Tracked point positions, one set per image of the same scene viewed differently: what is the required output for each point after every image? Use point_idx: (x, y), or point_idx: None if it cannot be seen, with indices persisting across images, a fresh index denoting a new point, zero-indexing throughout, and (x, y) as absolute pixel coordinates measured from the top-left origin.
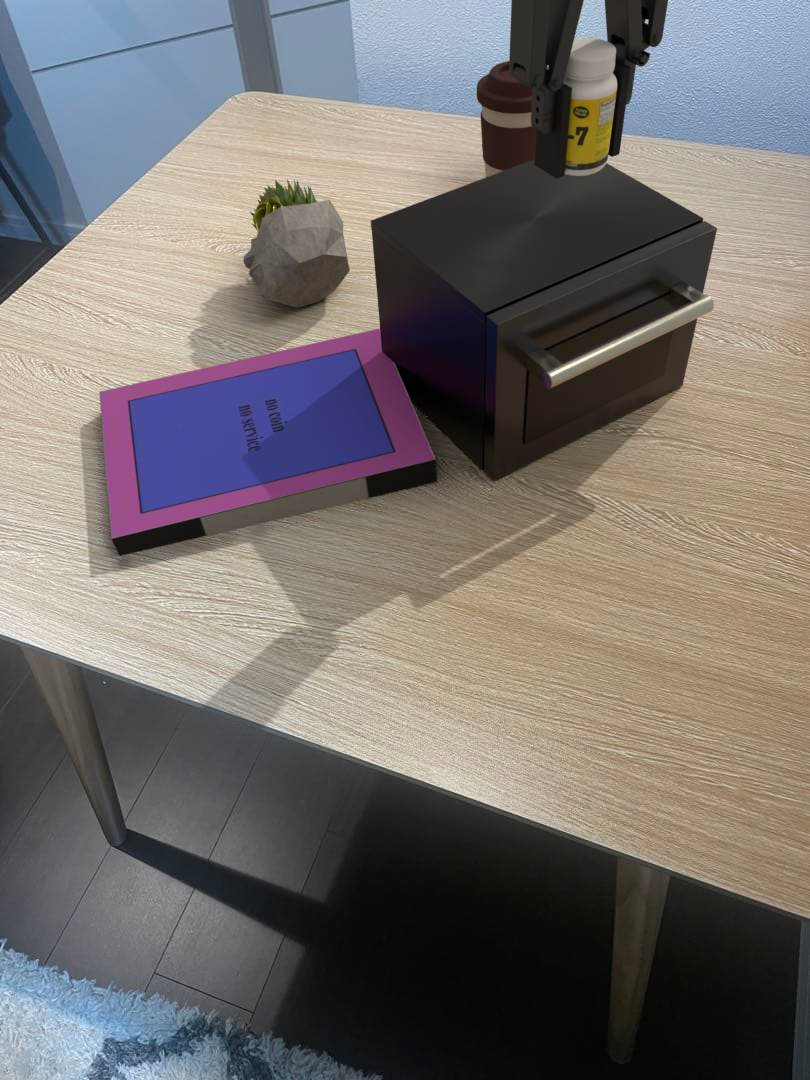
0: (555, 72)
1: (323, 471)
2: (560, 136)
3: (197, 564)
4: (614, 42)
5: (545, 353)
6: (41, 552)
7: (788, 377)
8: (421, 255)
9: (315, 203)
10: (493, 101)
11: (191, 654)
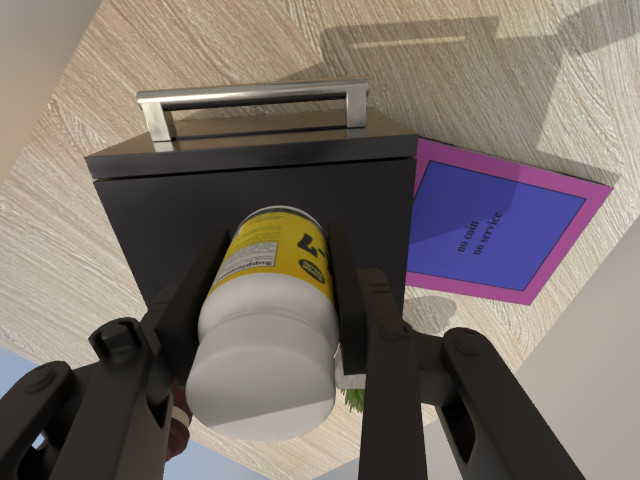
0: (407, 350)
1: (480, 170)
2: (350, 253)
3: (572, 149)
4: (157, 408)
5: (350, 115)
6: (625, 209)
7: (76, 78)
8: (400, 272)
9: (354, 387)
10: (181, 431)
11: (632, 74)
